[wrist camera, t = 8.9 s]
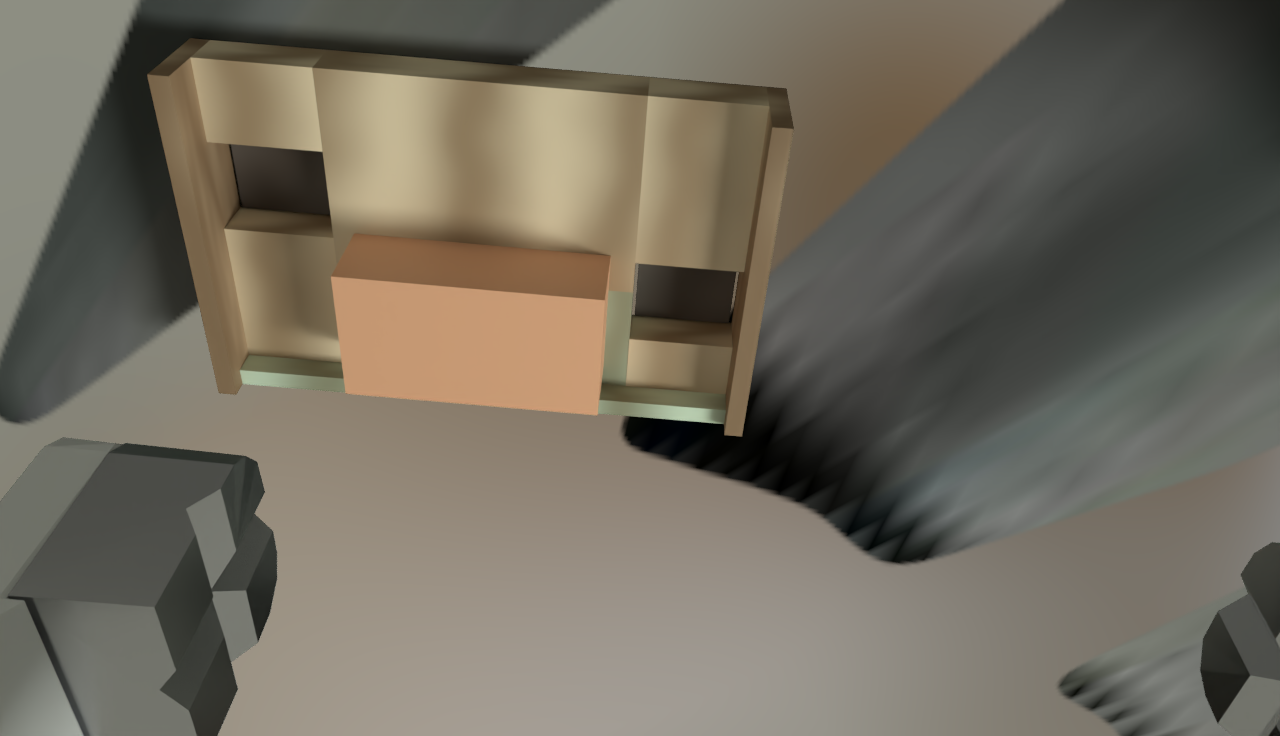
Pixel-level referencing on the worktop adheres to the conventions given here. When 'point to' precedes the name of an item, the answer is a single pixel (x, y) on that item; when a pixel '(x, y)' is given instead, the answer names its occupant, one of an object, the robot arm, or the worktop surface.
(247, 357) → the trap board
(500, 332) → the block
